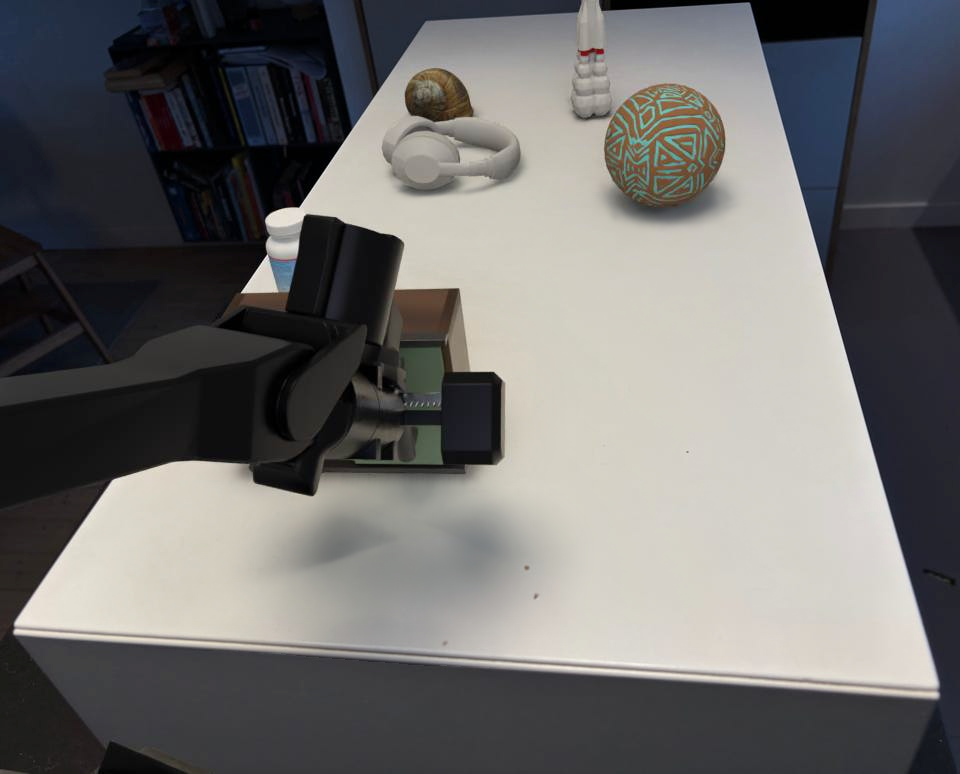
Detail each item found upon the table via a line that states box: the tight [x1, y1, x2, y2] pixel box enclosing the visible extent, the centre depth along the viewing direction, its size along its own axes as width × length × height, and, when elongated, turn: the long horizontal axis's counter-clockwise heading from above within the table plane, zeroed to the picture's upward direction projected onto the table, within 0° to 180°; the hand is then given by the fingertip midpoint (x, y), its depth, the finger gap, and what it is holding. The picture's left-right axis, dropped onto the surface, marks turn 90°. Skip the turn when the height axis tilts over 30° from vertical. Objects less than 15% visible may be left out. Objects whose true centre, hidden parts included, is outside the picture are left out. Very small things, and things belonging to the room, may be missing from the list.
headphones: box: [381, 115, 522, 191], centre depth 120 cm, size 18×8×20 cm
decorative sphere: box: [603, 82, 726, 208], centre depth 103 cm, size 15×15×15 cm
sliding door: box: [355, 346, 445, 464], centre depth 67 cm, size 4×9×13 cm, turn 84°
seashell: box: [404, 67, 474, 122], centre depth 137 cm, size 11×9×8 cm
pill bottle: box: [264, 207, 308, 292], centre depth 93 cm, size 6×6×11 cm
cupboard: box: [221, 287, 471, 474], centre depth 71 cm, size 8×20×14 cm, turn 84°
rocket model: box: [570, 0, 613, 119], centre depth 125 cm, size 7×7×30 cm
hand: (398, 425), depth 64 cm, fingers open, 9 cm apart
